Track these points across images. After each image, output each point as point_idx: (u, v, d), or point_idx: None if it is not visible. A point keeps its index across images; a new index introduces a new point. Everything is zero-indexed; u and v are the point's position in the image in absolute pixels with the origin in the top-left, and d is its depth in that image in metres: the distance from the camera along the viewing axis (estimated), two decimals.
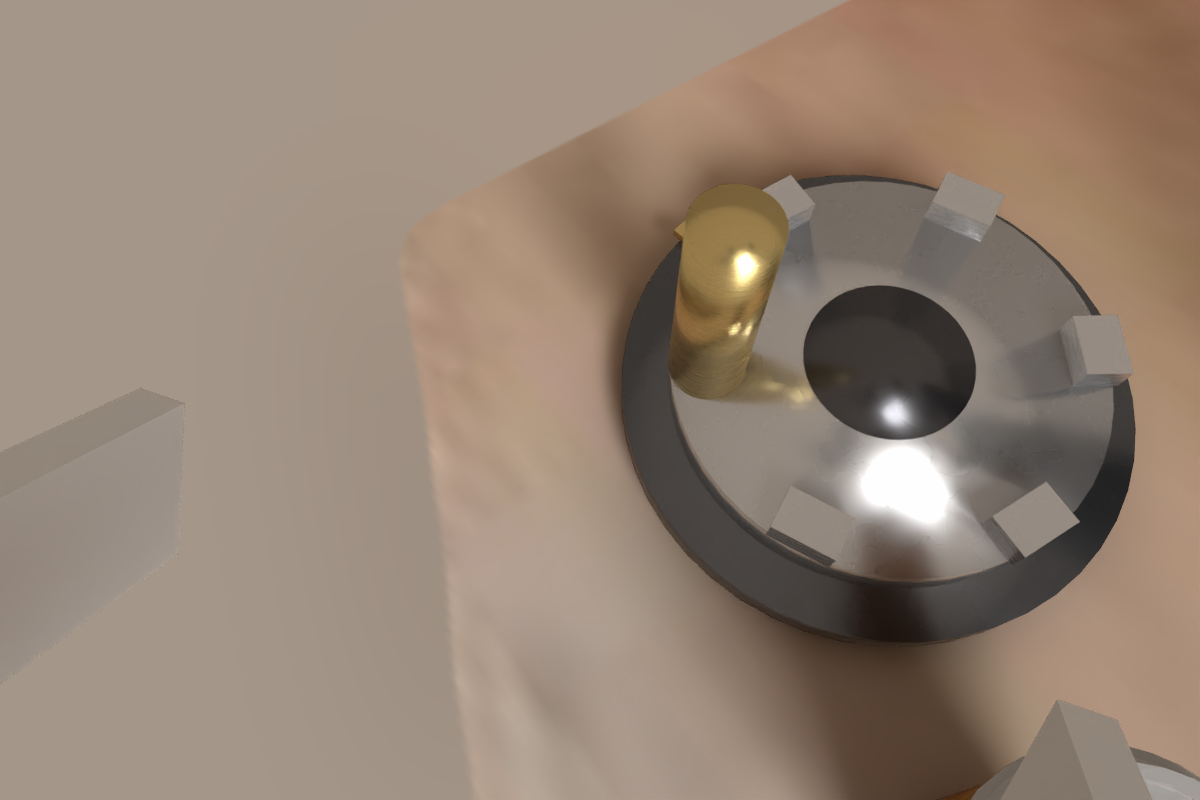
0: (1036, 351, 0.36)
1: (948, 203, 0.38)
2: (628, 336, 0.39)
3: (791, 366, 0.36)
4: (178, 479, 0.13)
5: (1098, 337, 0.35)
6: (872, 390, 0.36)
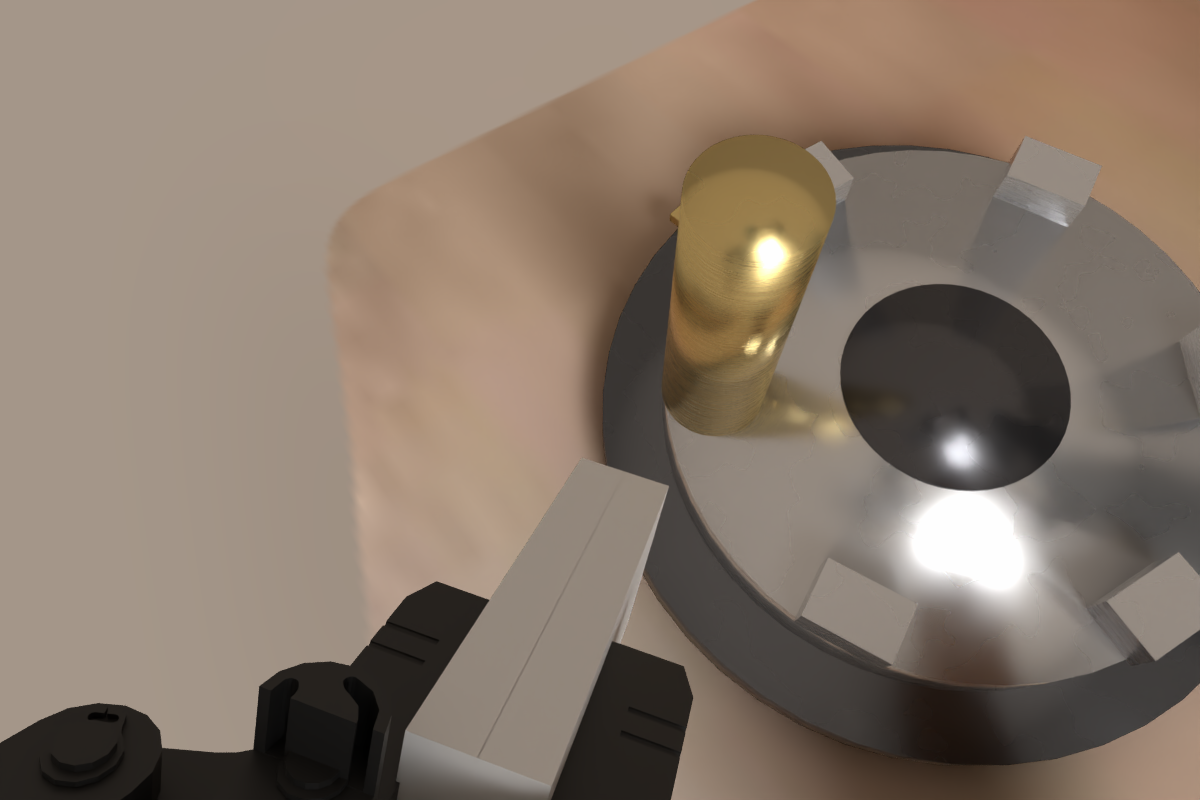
0: (1148, 371, 0.27)
1: (1028, 176, 0.29)
2: (611, 350, 0.31)
3: (824, 391, 0.27)
4: None
5: None
6: (933, 423, 0.27)
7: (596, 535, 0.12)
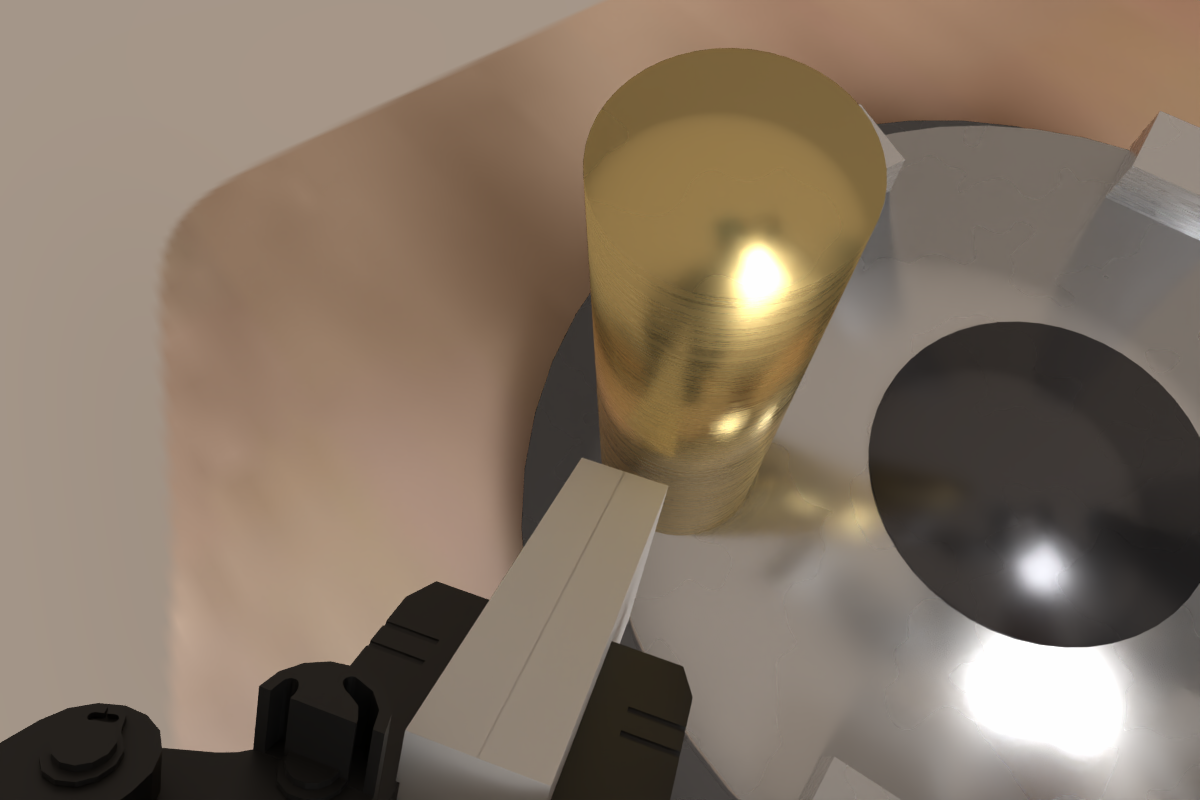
0: None
1: (1164, 170, 0.20)
2: (539, 409, 0.21)
3: (843, 474, 0.18)
4: None
5: None
6: (1006, 536, 0.18)
7: (596, 535, 0.12)
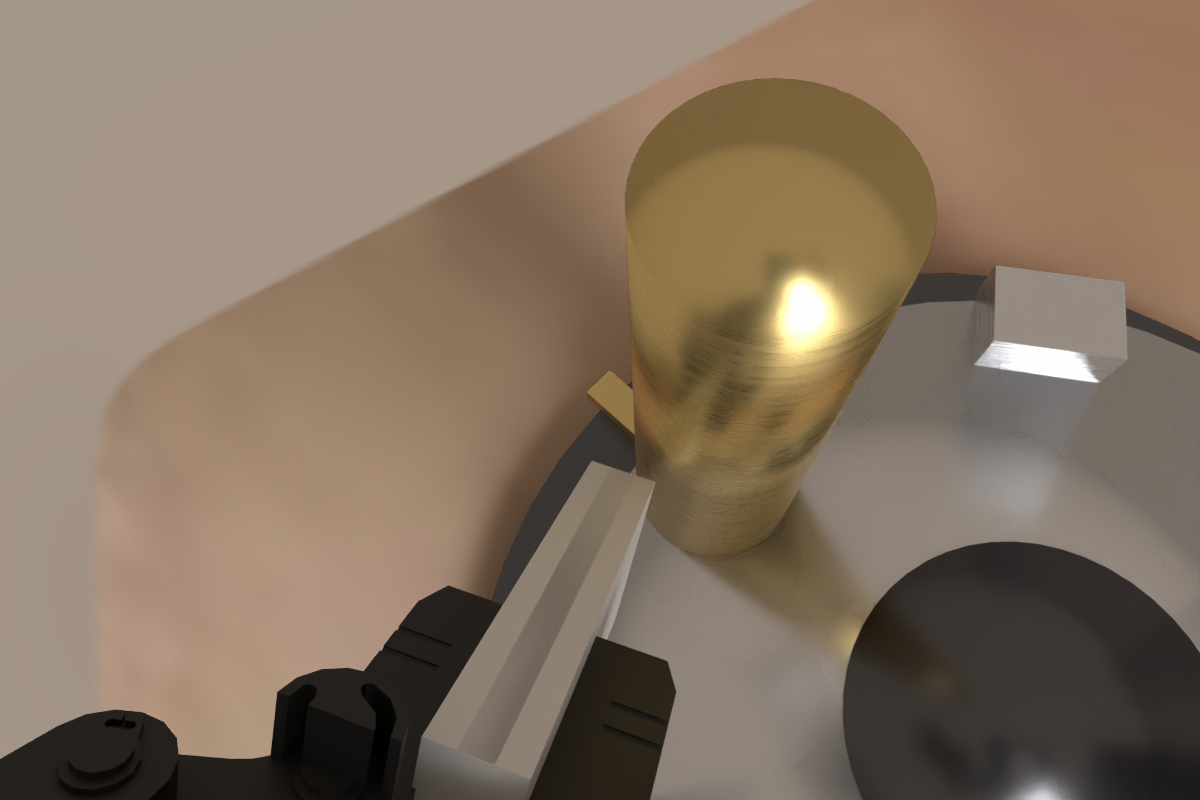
0: None
1: None
2: None
3: (847, 594, 0.17)
4: None
5: None
6: (954, 757, 0.16)
7: (581, 530, 0.12)
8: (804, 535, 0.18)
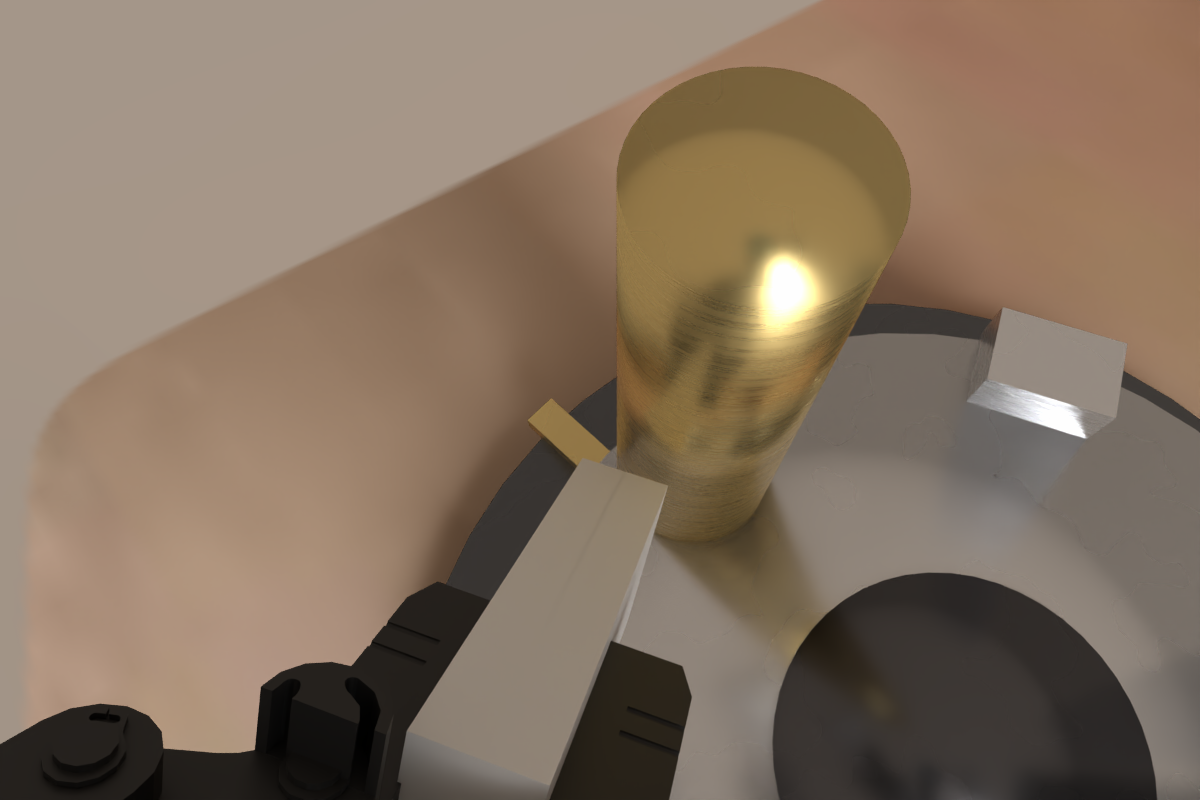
0: None
1: None
2: None
3: (800, 599, 0.18)
4: None
5: None
6: (876, 772, 0.16)
7: (595, 535, 0.12)
8: (769, 536, 0.18)
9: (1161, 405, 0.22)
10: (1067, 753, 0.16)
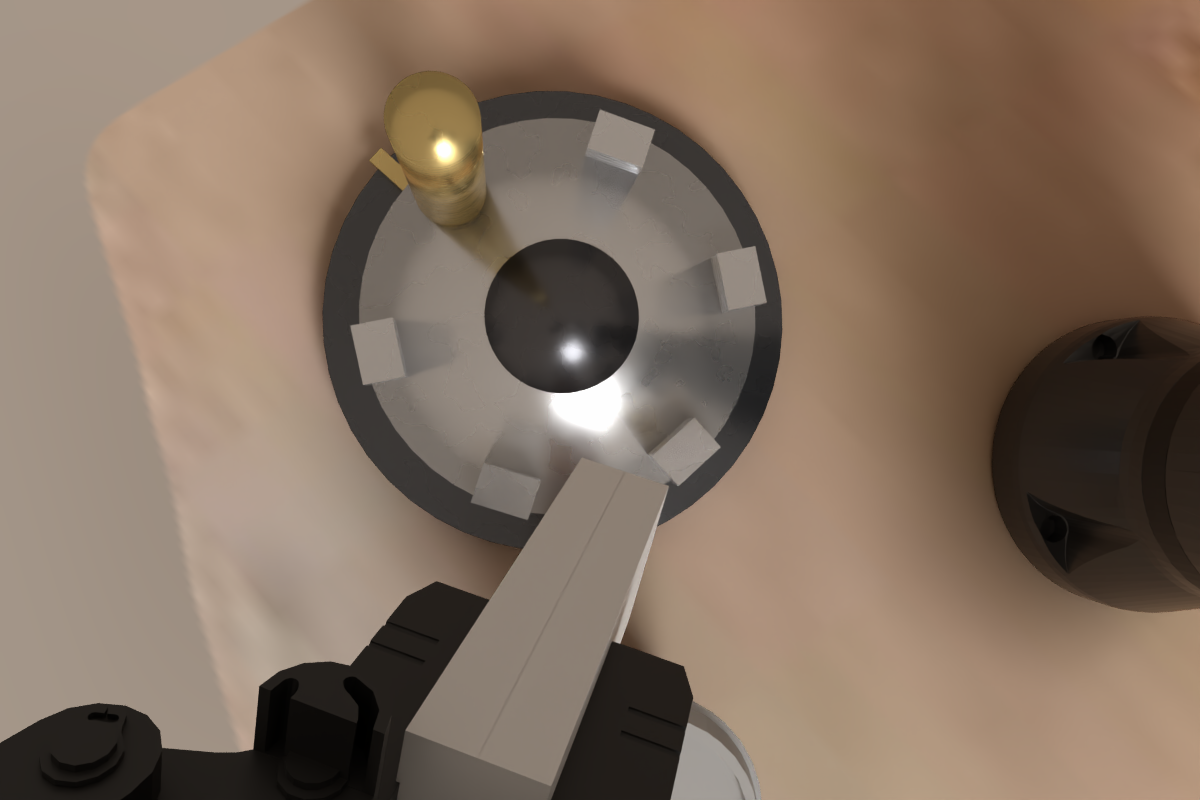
0: (656, 412, 0.40)
1: (724, 266, 0.39)
2: (327, 278, 0.41)
3: (499, 251, 0.40)
4: None
5: (690, 444, 0.39)
6: (526, 321, 0.39)
7: (596, 535, 0.12)
8: (486, 222, 0.39)
9: (696, 151, 0.43)
10: (605, 312, 0.40)
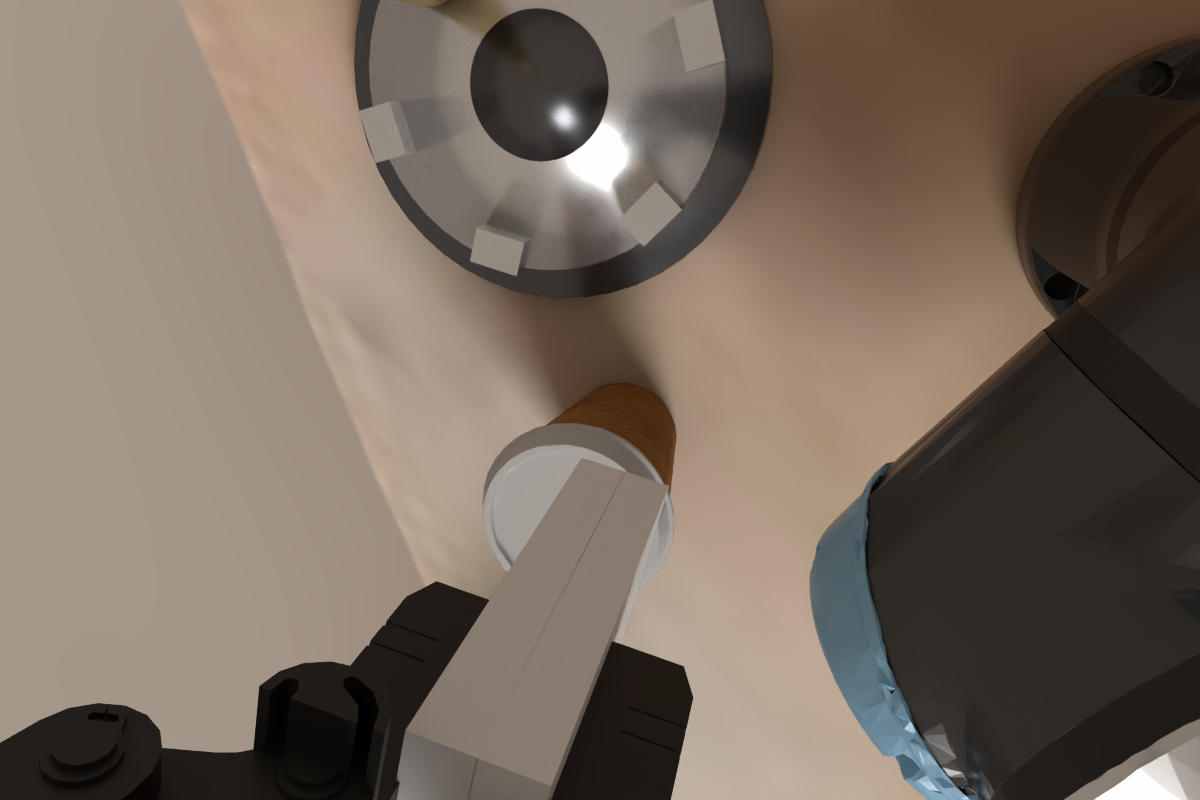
0: (629, 176, 0.43)
1: (681, 25, 0.39)
2: (355, 61, 0.47)
3: (478, 27, 0.42)
4: None
5: (653, 208, 0.42)
6: (506, 94, 0.43)
7: (596, 535, 0.12)
8: None
9: None
10: (576, 80, 0.42)
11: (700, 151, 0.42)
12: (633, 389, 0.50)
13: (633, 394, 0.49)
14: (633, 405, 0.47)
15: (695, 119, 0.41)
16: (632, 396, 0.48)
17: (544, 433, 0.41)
